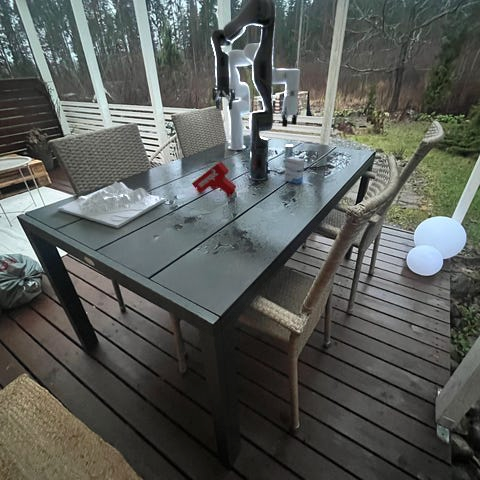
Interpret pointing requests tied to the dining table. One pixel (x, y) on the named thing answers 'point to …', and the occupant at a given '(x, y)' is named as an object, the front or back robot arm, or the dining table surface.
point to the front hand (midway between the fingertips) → (224, 109)
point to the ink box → (294, 170)
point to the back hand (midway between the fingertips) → (289, 125)
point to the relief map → (113, 205)
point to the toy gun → (215, 180)
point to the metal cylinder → (288, 151)
